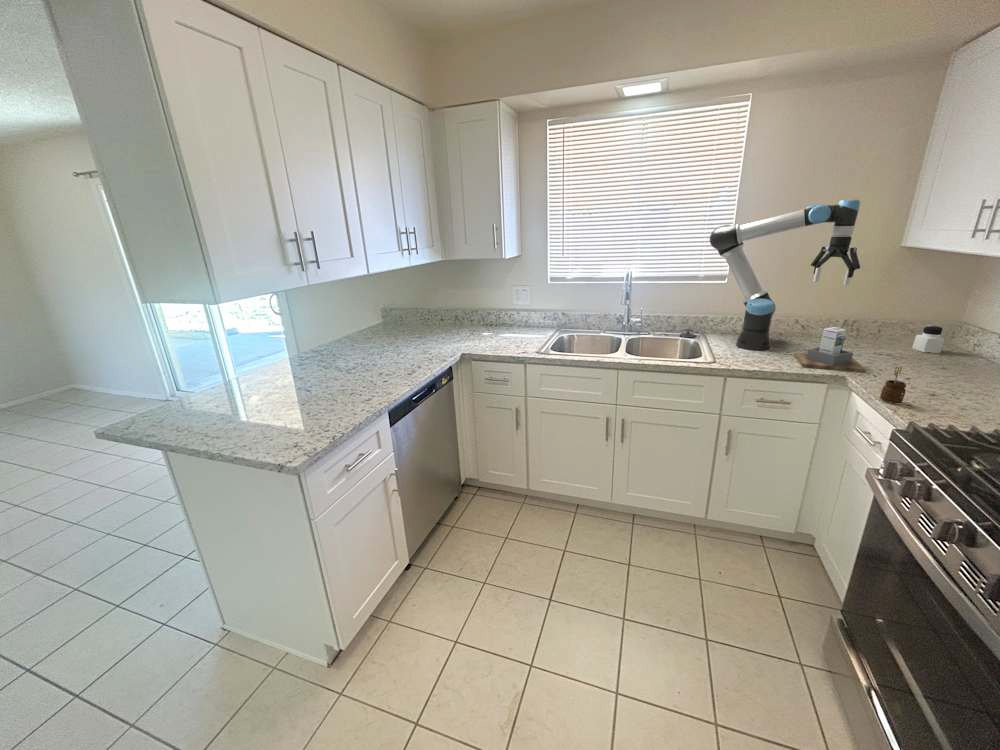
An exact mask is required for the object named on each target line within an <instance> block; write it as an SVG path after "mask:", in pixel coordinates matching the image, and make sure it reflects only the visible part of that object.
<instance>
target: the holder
mask: <svg viewBox="0 0 1000 750" xmlns="http://www.w3.org/2000/svg"><path fill="white" fill-rule="evenodd" d="M819 350H820V346H818V347H813V348H812V347H811V348H808V349H807V352H806V354H807V355H806V359H809V360H813V361H816V362H820V363H823V364H827V365H831V366H835V365H840V364H845V363H850V362H851V359H852V357H853V355H854V352H853V351H848V350H844V349H842V352H841V354H837V355H832V354H828V353H824V352H820V351H819Z"/></svg>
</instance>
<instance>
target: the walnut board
mask: <svg viewBox="0 0 1000 750" xmlns="http://www.w3.org/2000/svg"><path fill="white" fill-rule="evenodd" d="M806 355H807V353H802V352H801V353H799V352H794V353H793V357H794V356H795V357H794V358H795V359H797V360H798V361H797V360H796V361H797V363H798V362H799V363H800V364H799V363H798V364H799V366H800V365H801V366H803V367H802V368H809V367H812V368H811V369H820V368H822V370H831V369H835V370H834V371H842V370H845V371H844V372H853V371H858V372H857V373H865V371H866V368H865V367H864V366H863V365H862V364H860V363H859V361H857V360H856V359H855V358H854V357H853V356H852V359H851V362H850V363H845V364H840V365H835V366H831V365H827V364H823V363H820V362H816V361H813V360H809V359H806ZM801 366H800V367H801Z"/></svg>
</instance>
